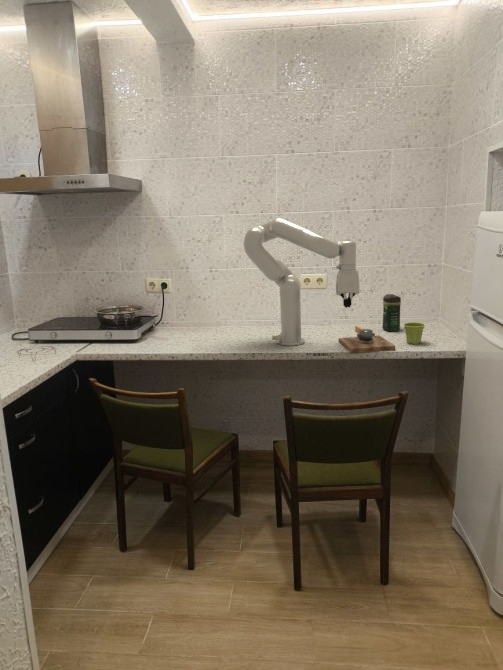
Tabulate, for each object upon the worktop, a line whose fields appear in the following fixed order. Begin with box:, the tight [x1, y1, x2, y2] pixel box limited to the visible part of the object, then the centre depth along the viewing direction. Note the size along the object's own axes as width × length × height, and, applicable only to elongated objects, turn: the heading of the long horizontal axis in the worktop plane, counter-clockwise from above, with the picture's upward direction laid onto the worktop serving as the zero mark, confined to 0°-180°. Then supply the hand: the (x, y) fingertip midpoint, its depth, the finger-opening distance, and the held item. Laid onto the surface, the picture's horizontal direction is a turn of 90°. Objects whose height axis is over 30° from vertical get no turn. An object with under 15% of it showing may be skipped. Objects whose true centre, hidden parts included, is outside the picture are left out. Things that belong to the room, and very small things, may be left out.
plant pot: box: [403, 321, 426, 345], centre depth 223 cm, size 9×9×9 cm
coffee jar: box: [382, 293, 402, 333], centre depth 248 cm, size 10×8×19 cm
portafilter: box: [354, 325, 376, 341], centre depth 225 cm, size 8×16×4 cm, turn 6°
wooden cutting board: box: [338, 335, 396, 354], centre depth 221 cm, size 20×20×3 cm
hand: (347, 306), depth 226 cm, fingers closed
